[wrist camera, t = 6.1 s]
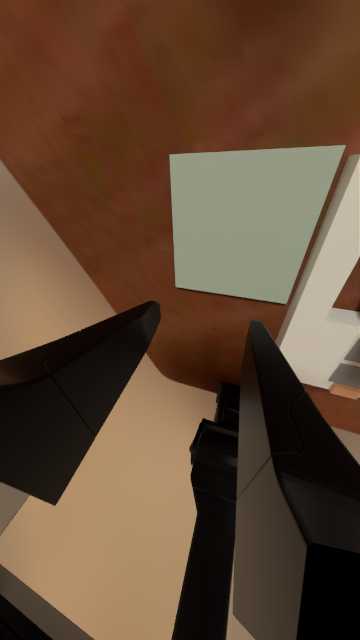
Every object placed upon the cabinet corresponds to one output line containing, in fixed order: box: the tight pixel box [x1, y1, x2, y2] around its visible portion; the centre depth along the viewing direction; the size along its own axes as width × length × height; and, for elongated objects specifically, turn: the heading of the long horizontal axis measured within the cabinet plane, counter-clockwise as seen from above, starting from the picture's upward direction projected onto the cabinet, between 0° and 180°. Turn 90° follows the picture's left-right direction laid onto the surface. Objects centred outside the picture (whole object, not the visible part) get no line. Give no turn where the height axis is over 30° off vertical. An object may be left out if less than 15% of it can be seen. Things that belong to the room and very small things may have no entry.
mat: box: [170, 145, 346, 304], centre depth 18 cm, size 12×12×1 cm
